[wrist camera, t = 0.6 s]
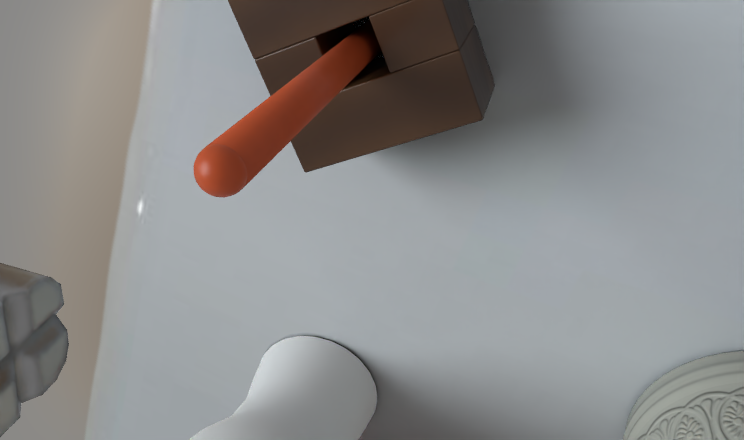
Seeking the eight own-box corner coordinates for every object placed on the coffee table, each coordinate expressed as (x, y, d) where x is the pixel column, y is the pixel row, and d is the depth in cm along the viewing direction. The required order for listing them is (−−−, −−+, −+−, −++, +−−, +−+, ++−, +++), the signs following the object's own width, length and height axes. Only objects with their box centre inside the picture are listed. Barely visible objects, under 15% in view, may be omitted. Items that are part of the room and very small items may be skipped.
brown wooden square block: (268, -27, 33) (222, -10, 29) (435, -99, 30) (411, -92, 26) (336, 135, 36) (304, 173, 32) (495, 86, 33) (483, 120, 28)
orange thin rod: (362, 20, 33) (174, 162, 17) (389, 9, 32) (220, 147, 17) (373, 48, 33) (199, 212, 18) (400, 38, 33) (245, 198, 17)
